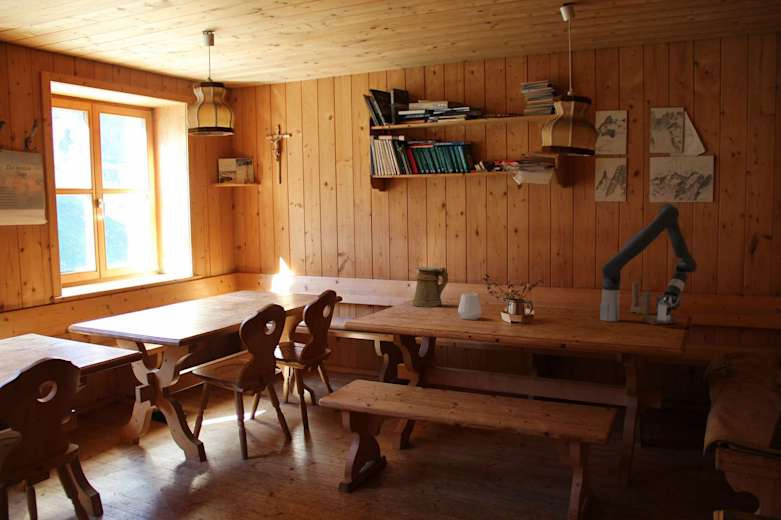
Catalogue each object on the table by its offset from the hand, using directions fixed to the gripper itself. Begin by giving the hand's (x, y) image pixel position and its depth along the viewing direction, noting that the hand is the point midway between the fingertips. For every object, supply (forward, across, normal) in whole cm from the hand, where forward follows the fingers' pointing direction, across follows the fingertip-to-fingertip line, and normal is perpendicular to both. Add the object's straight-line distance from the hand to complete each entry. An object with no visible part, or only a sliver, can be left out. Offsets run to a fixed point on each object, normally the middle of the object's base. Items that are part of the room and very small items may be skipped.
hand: (662, 313), depth 353 cm
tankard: (+32, +138, +19) cm, 143 cm away
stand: (-4, +8, -14) cm, 16 cm away
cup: (+44, +86, +32) cm, 102 cm away
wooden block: (-20, +32, -30) cm, 48 cm away
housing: (+2, 0, -4) cm, 5 cm away
